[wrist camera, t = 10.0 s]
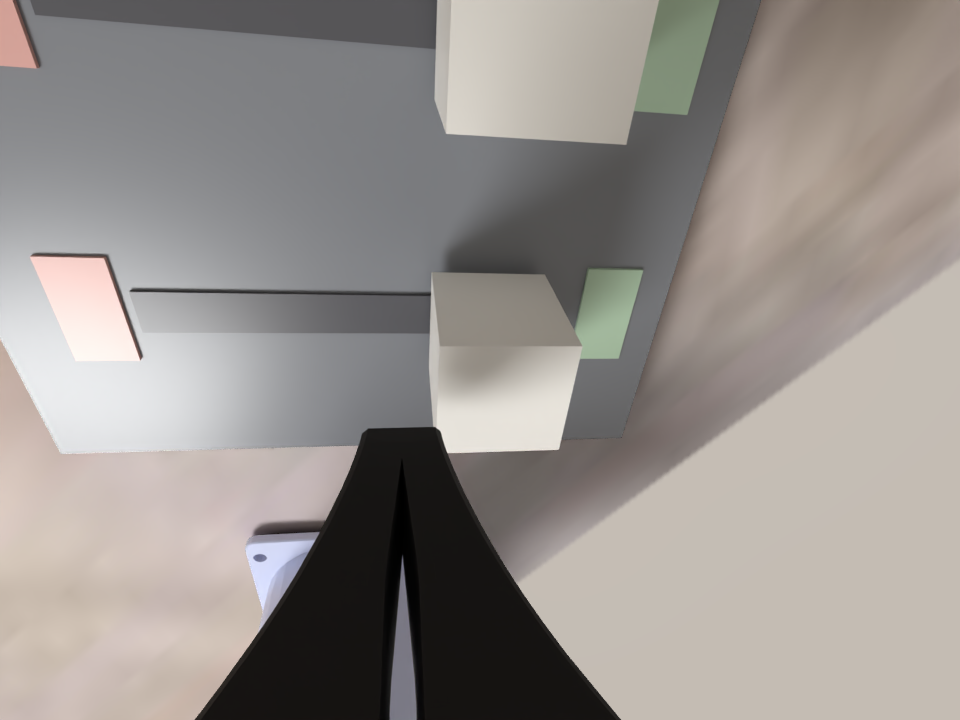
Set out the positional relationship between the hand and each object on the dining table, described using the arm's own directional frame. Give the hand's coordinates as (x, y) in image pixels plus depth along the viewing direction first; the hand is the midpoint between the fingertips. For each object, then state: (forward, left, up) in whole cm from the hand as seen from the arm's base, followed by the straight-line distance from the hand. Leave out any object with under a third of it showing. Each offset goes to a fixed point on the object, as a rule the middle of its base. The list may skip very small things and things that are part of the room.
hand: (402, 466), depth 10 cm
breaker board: (+3, +1, -7) cm, 8 cm away
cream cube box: (+7, -2, -5) cm, 9 cm away
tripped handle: (0, -2, -5) cm, 6 cm away
